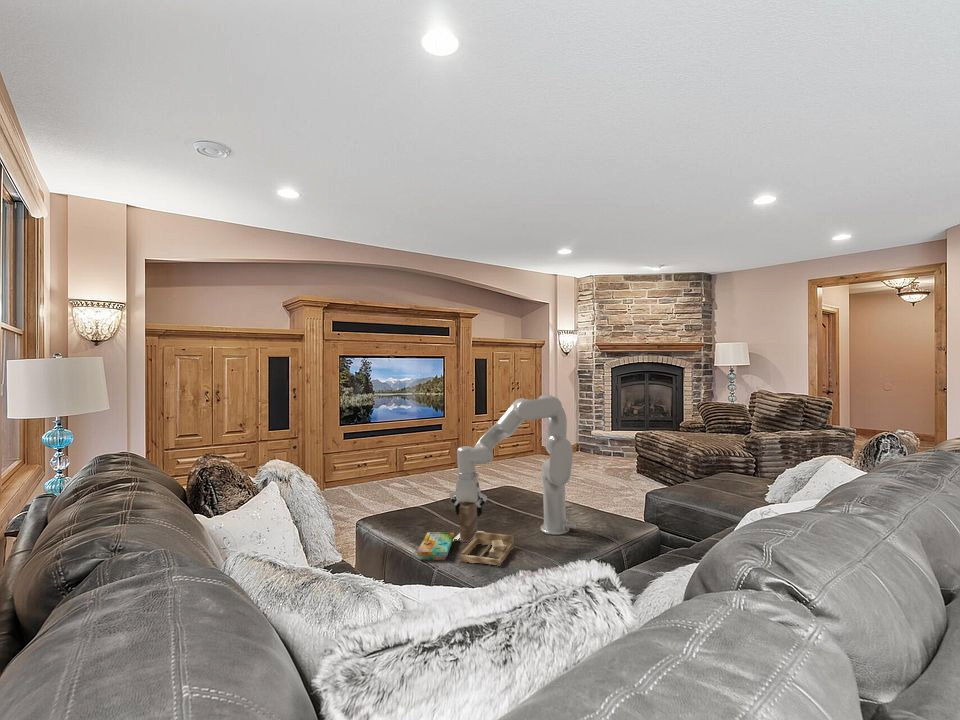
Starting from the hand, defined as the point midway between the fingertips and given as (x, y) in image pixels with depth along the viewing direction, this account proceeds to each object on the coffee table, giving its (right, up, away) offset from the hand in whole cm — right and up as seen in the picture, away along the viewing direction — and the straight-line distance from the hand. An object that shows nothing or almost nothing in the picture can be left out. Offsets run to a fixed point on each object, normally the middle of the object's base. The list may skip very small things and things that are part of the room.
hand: (468, 514), depth 221 cm
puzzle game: (-13, -11, -13) cm, 21 cm away
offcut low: (+12, -10, -19) cm, 25 cm away
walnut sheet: (0, -9, 0) cm, 9 cm away
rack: (+8, -10, -19) cm, 23 cm away
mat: (0, -10, 0) cm, 10 cm away
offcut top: (+12, -7, -19) cm, 24 cm away
